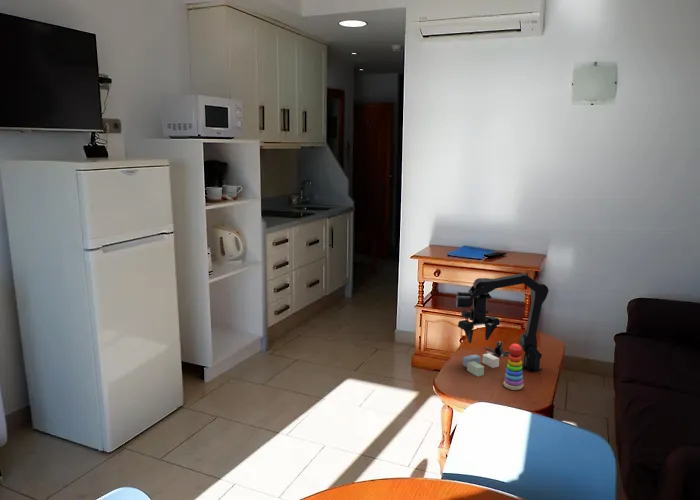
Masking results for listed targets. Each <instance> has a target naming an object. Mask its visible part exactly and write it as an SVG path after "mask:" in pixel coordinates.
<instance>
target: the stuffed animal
mask: <svg viewBox="0 0 700 500" xmlns="http://www.w3.org/2000/svg"><path fill="white" fill-rule="evenodd" d="M484 349H485V350H487V351H486V353H487V354H488V353H489V354H491V355H493V356H495V357H497V358H501V359H503V358H505V357H509V355H510V352H509V350H505V351H504V348H503V341H497V342H496V346H495V347H494V349H492V348H490V347H487V346H485V347H484Z"/></svg>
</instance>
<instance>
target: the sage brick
mask: <svg viewBox="0 0 700 500" xmlns="http://www.w3.org/2000/svg"><path fill="white" fill-rule="evenodd" d="M466 368H467V369H466V371H468V372H469V373H470V374H472V375H474V376H476V377H478V378H479V377H481V376H484V375H485V366H484V365H482V364H481V363H480V364H478V363H477V362H475V361H472V362H468V363H467V367H466Z"/></svg>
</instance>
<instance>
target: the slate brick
mask: <svg viewBox="0 0 700 500" xmlns="http://www.w3.org/2000/svg"><path fill="white" fill-rule="evenodd" d="M481 359H482V357H481V356H480V355H478V354H472V355H467V356H463V357H462V365H463V366H464V367H465V368H467V363H468V362H472V361H475V362H477V363H478V364H480V365H481V361H482V360H481Z"/></svg>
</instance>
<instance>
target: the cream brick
mask: <svg viewBox="0 0 700 500" xmlns="http://www.w3.org/2000/svg"><path fill="white" fill-rule="evenodd" d="M482 363H483V364H484V365H486V366H489V367H490V368H492V369H494V368H498V367H500V357H495V356H493V355H491V354H489V353H488V352H487V353H484V354H482Z"/></svg>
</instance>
